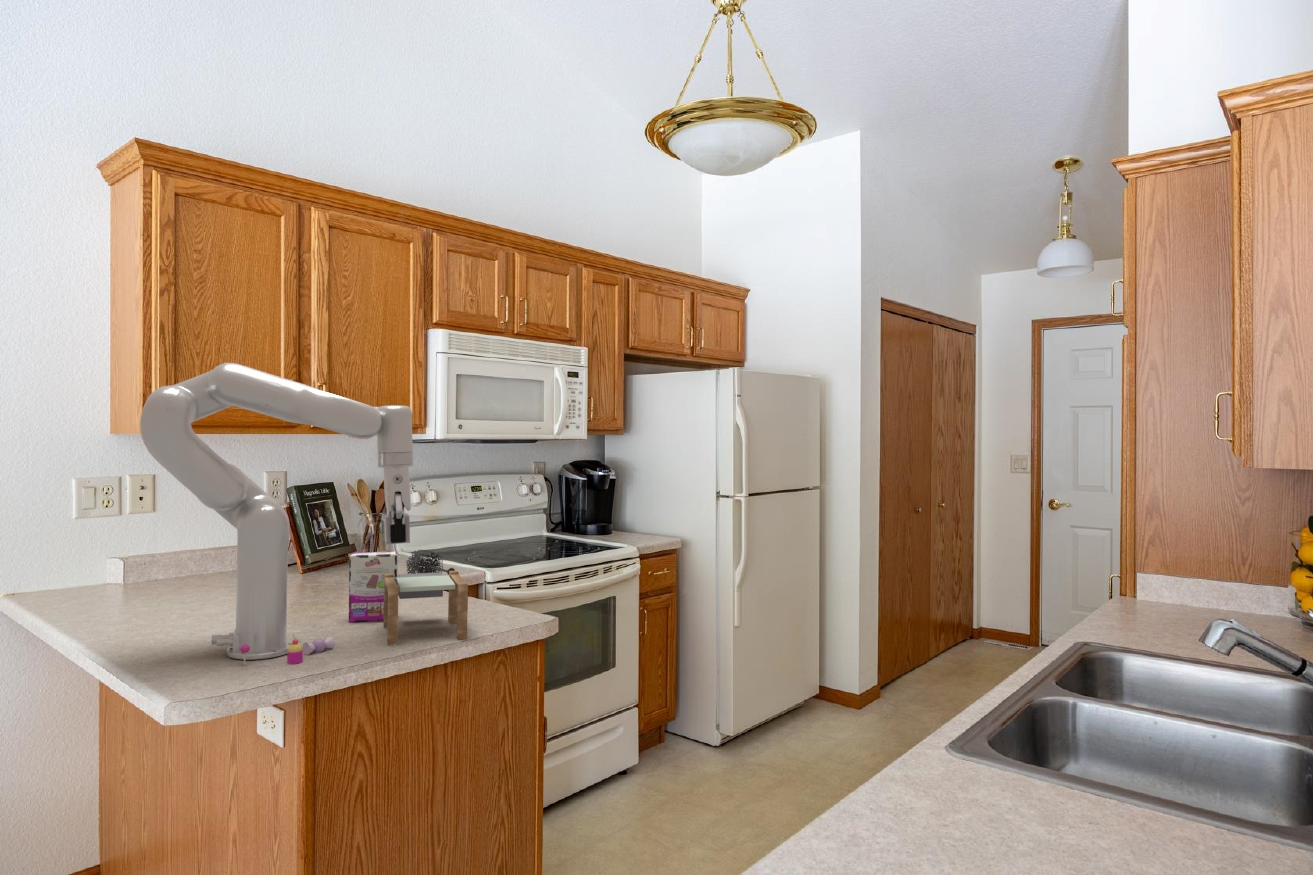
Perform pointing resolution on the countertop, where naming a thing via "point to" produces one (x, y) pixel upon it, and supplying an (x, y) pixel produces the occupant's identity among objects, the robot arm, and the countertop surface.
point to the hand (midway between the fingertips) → (397, 539)
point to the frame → (455, 606)
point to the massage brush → (428, 566)
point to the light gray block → (388, 522)
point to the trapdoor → (423, 585)
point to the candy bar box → (369, 584)
